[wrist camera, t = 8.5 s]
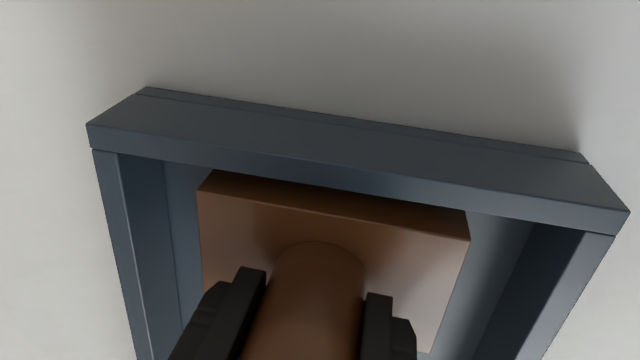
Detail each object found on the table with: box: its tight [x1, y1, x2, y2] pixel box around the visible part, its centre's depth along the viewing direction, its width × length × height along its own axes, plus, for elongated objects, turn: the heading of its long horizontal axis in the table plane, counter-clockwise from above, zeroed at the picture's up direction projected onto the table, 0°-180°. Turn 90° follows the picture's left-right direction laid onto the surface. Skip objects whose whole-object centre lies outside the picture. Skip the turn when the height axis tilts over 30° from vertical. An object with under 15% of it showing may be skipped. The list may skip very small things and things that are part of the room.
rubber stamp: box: [196, 169, 471, 360], centre depth 12 cm, size 5×8×8 cm, turn 85°
